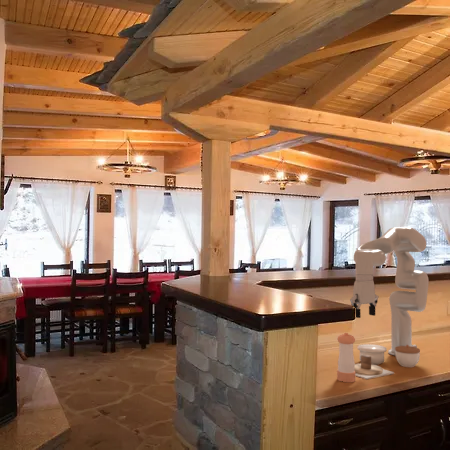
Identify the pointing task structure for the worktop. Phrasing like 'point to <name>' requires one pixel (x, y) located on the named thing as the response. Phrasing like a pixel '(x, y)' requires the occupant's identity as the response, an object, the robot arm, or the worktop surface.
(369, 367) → the lid
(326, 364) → the worktop surface
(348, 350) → the pepper shaker
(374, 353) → the mushroom
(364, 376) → the mat
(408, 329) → the robot arm
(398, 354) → the lidded jar
